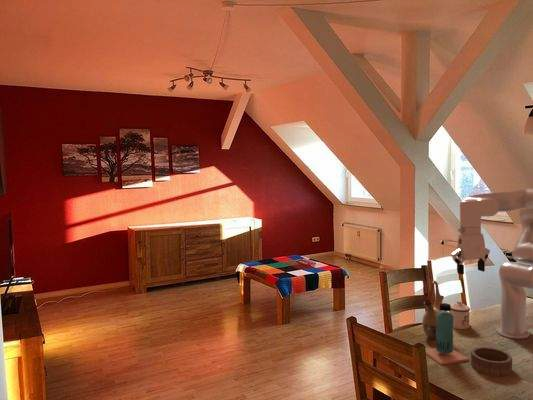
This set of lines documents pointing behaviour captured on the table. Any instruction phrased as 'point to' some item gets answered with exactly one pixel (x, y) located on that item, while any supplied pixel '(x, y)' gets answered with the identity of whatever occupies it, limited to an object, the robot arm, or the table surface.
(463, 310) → the teacup with lid
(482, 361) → the walnut collar
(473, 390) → the table surface
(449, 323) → the beverage bottle
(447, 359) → the terracotta tile
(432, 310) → the ceramic vessel
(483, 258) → the robot arm
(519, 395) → the table surface
